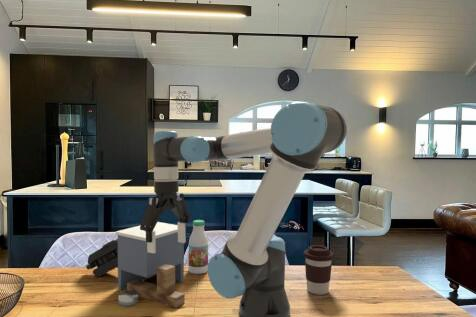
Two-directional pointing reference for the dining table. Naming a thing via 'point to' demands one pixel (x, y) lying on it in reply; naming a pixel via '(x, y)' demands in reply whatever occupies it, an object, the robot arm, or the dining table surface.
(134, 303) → the puck
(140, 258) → the cabinet
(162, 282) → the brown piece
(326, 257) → the coffee cup
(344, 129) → the robot arm
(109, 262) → the tool
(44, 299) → the dining table surface
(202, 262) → the milk bottle
